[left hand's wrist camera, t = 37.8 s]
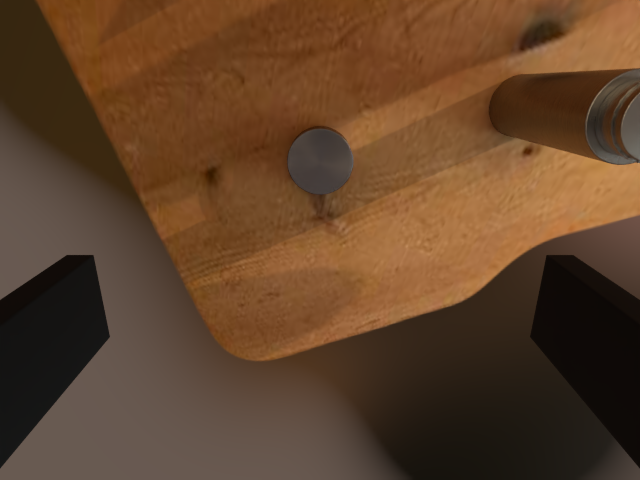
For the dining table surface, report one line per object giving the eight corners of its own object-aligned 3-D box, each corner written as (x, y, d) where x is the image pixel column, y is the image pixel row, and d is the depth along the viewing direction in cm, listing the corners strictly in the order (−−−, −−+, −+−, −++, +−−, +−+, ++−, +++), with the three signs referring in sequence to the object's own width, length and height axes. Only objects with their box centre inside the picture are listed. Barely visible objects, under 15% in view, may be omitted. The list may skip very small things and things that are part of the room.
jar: (556, 119, 36) (724, 143, 21) (500, 146, 37) (624, 189, 22) (538, 62, 35) (706, 45, 20) (480, 92, 36) (598, 98, 21)
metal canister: (354, 128, 37) (356, 131, 34) (347, 190, 39) (349, 197, 36) (291, 123, 37) (289, 125, 34) (287, 185, 38) (285, 191, 36)
